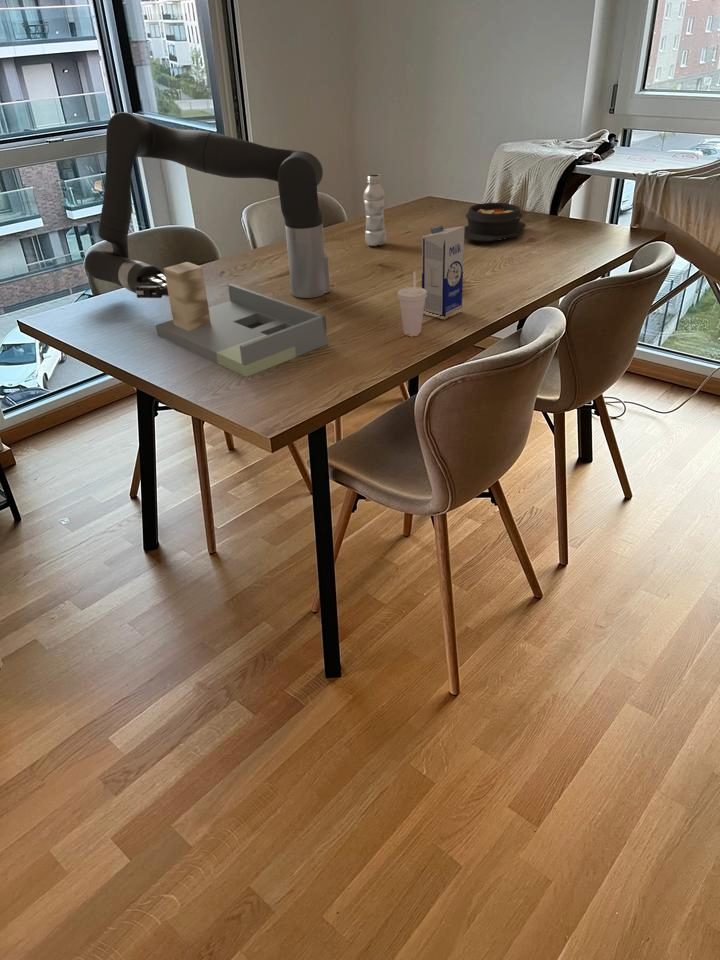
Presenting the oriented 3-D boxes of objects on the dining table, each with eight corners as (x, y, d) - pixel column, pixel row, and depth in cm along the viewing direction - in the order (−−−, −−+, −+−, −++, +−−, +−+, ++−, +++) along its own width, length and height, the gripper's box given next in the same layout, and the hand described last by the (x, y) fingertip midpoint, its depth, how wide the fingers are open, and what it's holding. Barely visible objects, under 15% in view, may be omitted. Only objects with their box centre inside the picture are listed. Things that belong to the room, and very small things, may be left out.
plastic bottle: (390, 243, 229) (389, 174, 219) (379, 249, 225) (377, 178, 214) (372, 241, 232) (370, 172, 222) (360, 247, 228) (358, 176, 217)
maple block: (196, 317, 175) (186, 261, 168) (210, 323, 172) (202, 266, 165) (173, 324, 172) (163, 268, 165) (188, 331, 168) (178, 273, 161)
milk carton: (444, 320, 174) (446, 232, 163) (421, 314, 178) (421, 227, 167) (462, 311, 179) (465, 225, 168) (439, 305, 183) (440, 221, 172)
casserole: (498, 250, 219) (500, 221, 215) (444, 241, 229) (445, 213, 225) (539, 231, 235) (541, 203, 231) (487, 223, 245) (488, 196, 241)
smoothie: (424, 340, 165) (425, 276, 157) (395, 338, 166) (394, 276, 159) (428, 329, 170) (428, 267, 163) (400, 328, 172) (399, 266, 164)
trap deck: (234, 309, 186) (231, 283, 183) (327, 344, 165) (325, 316, 162) (157, 335, 174) (151, 308, 170) (246, 377, 153) (242, 346, 149)
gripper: (112, 269, 175) (151, 284, 164) (162, 256, 183) (202, 269, 172) (119, 300, 179) (158, 317, 168) (167, 286, 187) (207, 301, 176)
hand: (180, 293), depth 170 cm, fingers closed
